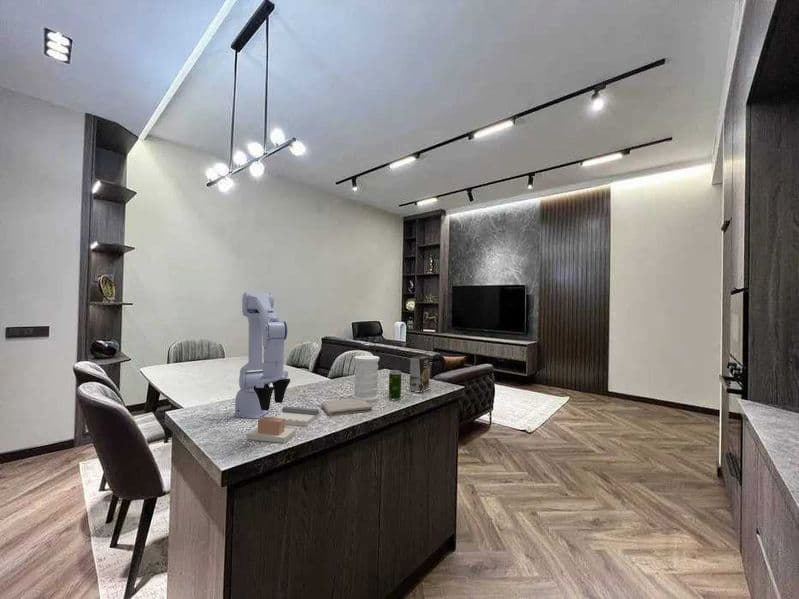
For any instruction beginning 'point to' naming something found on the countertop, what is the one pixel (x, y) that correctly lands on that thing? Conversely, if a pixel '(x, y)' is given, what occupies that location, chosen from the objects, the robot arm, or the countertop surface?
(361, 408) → the washcloth
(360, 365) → the decorative container
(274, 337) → the robot arm
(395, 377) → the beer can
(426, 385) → the coffee box
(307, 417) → the ticket board
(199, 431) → the countertop surface
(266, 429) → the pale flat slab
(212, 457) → the countertop surface
